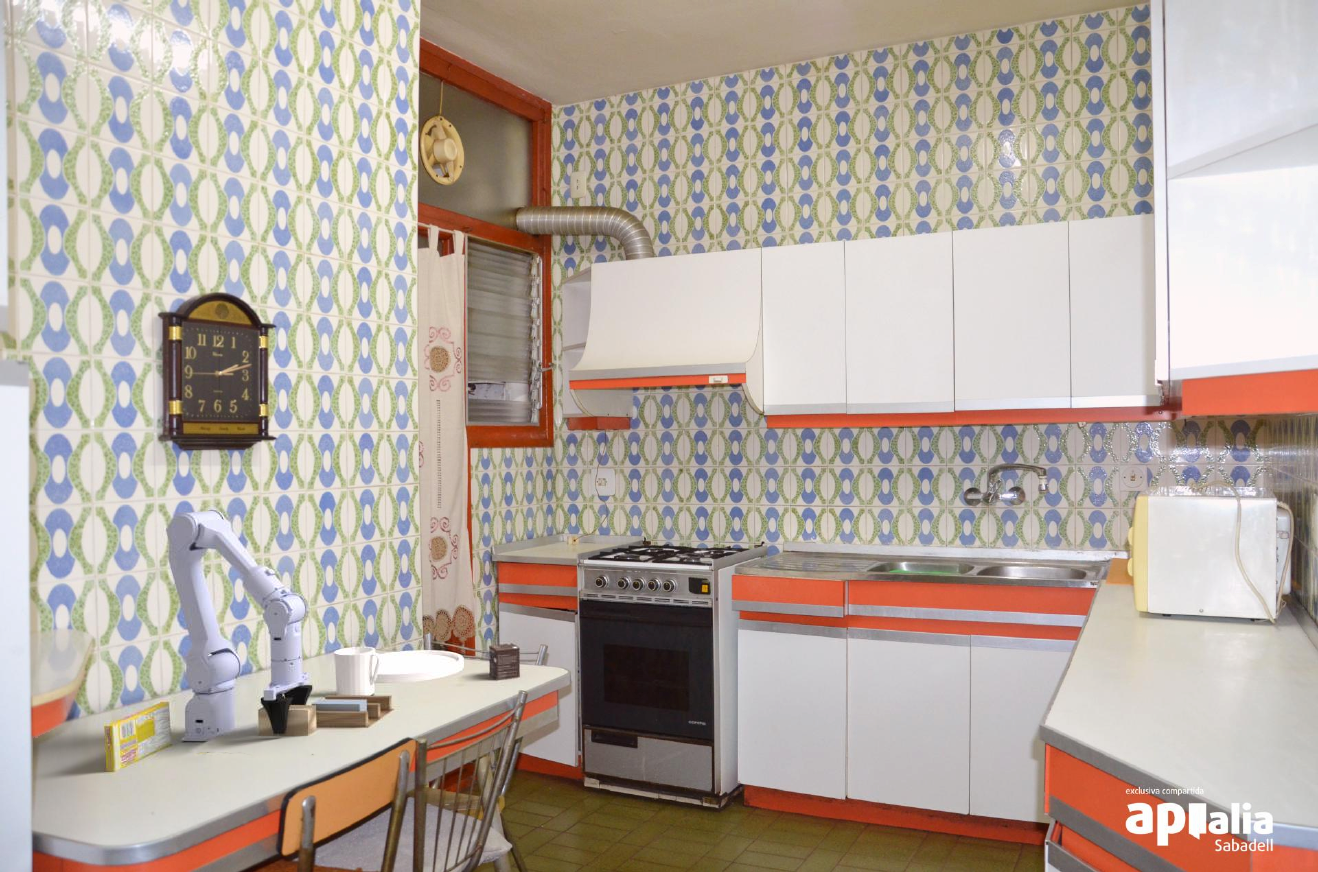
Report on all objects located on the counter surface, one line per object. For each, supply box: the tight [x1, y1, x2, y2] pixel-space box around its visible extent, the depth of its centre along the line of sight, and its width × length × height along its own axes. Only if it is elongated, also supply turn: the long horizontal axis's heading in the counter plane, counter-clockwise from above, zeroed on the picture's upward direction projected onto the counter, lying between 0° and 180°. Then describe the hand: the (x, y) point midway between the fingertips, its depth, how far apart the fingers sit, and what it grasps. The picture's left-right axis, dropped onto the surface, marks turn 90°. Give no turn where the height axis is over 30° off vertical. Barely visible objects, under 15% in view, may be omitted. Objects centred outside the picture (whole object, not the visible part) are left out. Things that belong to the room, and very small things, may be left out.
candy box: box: [103, 701, 172, 773], centre depth 186 cm, size 16×2×8 cm, turn 172°
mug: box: [333, 646, 381, 696], centre depth 228 cm, size 11×9×10 cm
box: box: [488, 642, 521, 681], centre depth 245 cm, size 6×6×7 cm
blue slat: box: [311, 698, 367, 711], centre depth 204 cm, size 4×10×4 cm, turn 84°
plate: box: [374, 649, 465, 684], centre depth 255 cm, size 28×28×2 cm
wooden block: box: [257, 704, 317, 737], centre depth 196 cm, size 4×10×6 cm, turn 84°
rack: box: [316, 694, 395, 729], centre depth 207 cm, size 14×15×4 cm
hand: (288, 728), depth 196 cm, fingers open, 6 cm apart
